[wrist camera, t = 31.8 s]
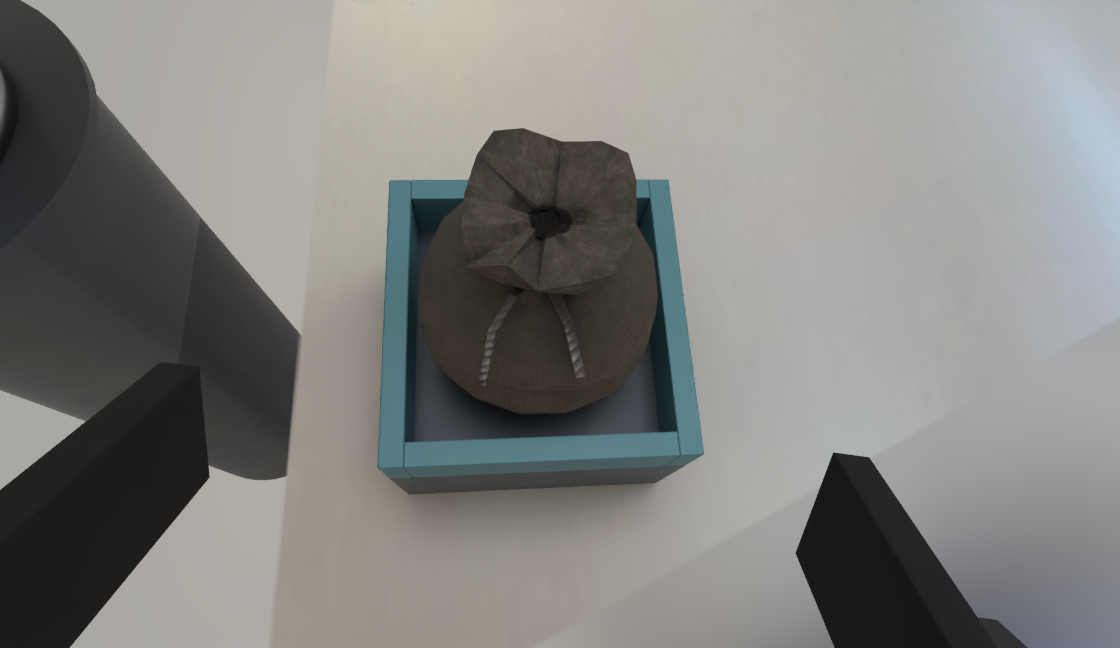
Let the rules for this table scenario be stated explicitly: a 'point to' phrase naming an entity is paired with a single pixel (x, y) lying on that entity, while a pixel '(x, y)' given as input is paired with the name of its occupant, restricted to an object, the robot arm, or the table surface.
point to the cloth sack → (540, 276)
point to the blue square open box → (535, 439)
